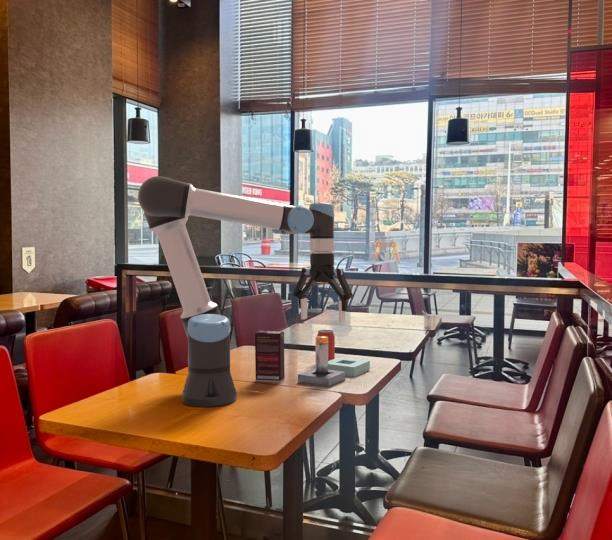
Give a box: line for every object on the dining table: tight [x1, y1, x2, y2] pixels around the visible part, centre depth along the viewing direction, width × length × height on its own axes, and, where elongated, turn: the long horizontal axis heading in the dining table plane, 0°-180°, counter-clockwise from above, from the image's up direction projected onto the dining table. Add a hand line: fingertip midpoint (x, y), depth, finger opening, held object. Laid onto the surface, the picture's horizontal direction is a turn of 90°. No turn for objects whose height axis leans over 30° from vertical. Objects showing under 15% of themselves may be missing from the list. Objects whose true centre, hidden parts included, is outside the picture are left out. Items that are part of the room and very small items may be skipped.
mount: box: [297, 367, 346, 388], centre depth 184 cm, size 11×11×3 cm
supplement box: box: [254, 330, 286, 384], centre depth 185 cm, size 9×5×16 cm, turn 76°
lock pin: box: [314, 335, 328, 376], centre depth 184 cm, size 4×4×14 cm
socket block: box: [328, 356, 371, 378], centre depth 198 cm, size 12×12×4 cm
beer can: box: [316, 329, 336, 361], centre depth 213 cm, size 7×7×12 cm
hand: (322, 320), depth 183 cm, fingers open, 13 cm apart
